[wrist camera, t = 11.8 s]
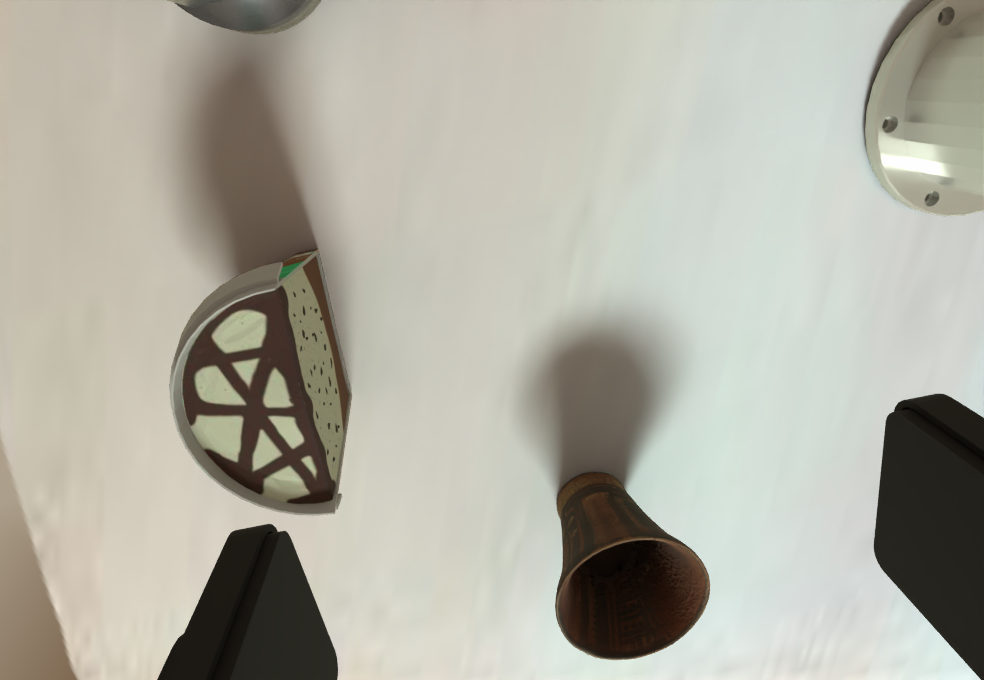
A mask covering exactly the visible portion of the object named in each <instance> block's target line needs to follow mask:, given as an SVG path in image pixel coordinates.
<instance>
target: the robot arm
mask: <svg viewBox="0 0 984 680" xmlns="http://www.w3.org/2000/svg"><path fill="white" fill-rule="evenodd" d="M865 136H866V146H867V154H868V157H869V160H870V163H871V166H872V169H873V172H874V174H875V175H876V177H877V179H878V180H879V182H880V184H881V185H882V187H883V188H884V189H885V190H886V191H887V192H888V193H889V194H890V195H891V196H892V197H893V198H894V199H895V200H897V201H899V202H900V203H902V204H904V205H906V206H907V207H909V208H912V209H915V210H919V211H922V212H925V213H929V214H935V215H941V216H961V215H968V214H972V213H976V212H980V211H984V0H933V1H931V2H930V3H929V4H928V5H927V6H926V7H925V8H924V9H923V10H922V11H921V12H919V13H918V14H917V15H916V16H915V17H914V18H913V19H912V20H911V21H910V23H909V24H908V25H907V26H906V28H905V29H904V30H903V31H902V33H901V34H900V35H899V36H898V38H897V39H896V40H895V42H894V44H893V45H892V47H891V49H890V50H889V52H888V54H887V55H886V57H885V59H884V60H883V62H882V64H881V67H880V69H879V72H878V74H877V76H876V79H875V81H874V84H873V86H872V90H871V94H870V98H869V103H868V107H867V113H866V126H865ZM874 552H875V556H876V559H877V561H878V563H879V565H880V567H881V568H882V570H883V571H884V572H885V573H886V574H887V576H888V577H889V578H890V579H891V580H892V581H893V582H894V583H895V584H896V586H897V587H898V588H899V589H900V590H901V591H902V592H903V593H904V594H905V596H906V597H907V598H908V599H909V600H910V601H911V602H912V603H913V604H914V606H915V607H916V608H917V609H918V610H919V611H920V612H921V613H922V614H923V616H924V617H925V618H926V619H927V620H928V621H929V622H930V623H931V625H932V626H933V627H934V628H935V629H936V630H937V631H938V632H939V633H940V635H941V636H942V637H943V638H944V639H945V640H946V641H947V642H948V643H949V645H950V646H951V647H952V648H953V649H954V650H955V651H956V652H957V653H958V655H959V656H960V657H961V658H962V659H963V660H964V661H965V662H966V663H967V665H968V666H969V667H970V668H971V669H972V670H973V671H974V672H975V673H976V675H977V676H978V677H979V678H980V679H981V680H984V418H983V417H981V416H980V415H978V414H977V413H975V412H973V411H972V410H970V409H969V408H967V407H966V406H964V405H962V404H961V403H959V402H958V401H956V400H954V399H953V398H951V397H949V396H947V395H945V394H933V395H928V396H923V397H918V398H913V399H908V400H903V401H901V402H899V403H898V404H897V405H896V407H895V410H894V412H892V413H890V414H889V415H888V417H887V419H886V426H885V436H884V446H883V456H882V466H881V477H880V487H879V497H878V507H877V518H876V528H875V538H874ZM337 676H338V664H337V656H336V653H335V649H334V647H333V644H332V642H331V639H330V637H329V634H328V632H327V629H326V627H325V624H324V622H323V619H322V616H321V614H320V611H319V609H318V606H317V604H316V601H315V599H314V596H313V594H312V591H311V589H310V586H309V583H308V581H307V578H306V576H305V573H304V571H303V568H302V566H301V563H300V561H299V558H298V555H297V553H296V550H295V548H294V545H293V543H292V540H291V538H290V536H289V534H288V533H287V532H286V531H281V532H278V531H277V529H276V528H275V527H274V526H273V525H272V524H266V525H261V526H256V527H251V528H246V529H240V530H235V531H233V532H232V533H231V534H230V535H229V537H228V538H227V540H226V543H225V545H224V547H223V549H222V551H221V554H220V556H219V558H218V560H217V562H216V565H215V567H214V569H213V571H212V573H211V576H210V578H209V580H208V582H207V584H206V587H205V589H204V591H203V593H202V595H201V598H200V600H199V602H198V604H197V606H196V609H195V611H194V613H193V615H192V617H191V620H190V622H189V624H188V626H187V628H186V631H185V633H184V634H183V635H182V636H180V637H179V638H178V639H177V641H176V643H175V644H174V646H173V647H172V649H171V651H170V654H169V656H168V658H167V660H166V662H165V664H164V666H163V669H162V671H161V673H160V675H159V677H158V679H157V680H337Z"/></svg>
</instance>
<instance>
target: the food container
mask: <svg viewBox="0 0 984 680" xmlns="http://www.w3.org/2000/svg"><path fill="white" fill-rule="evenodd" d="M169 387H170V400H171V407H172V412H173V416H174V420H175V423H176V427H177V430H178V433H179V435H180V437H181V439H182V441H183V443H184V445H185V447H186V449H187V450H188V452H189V453H190V455H191V456H192V458H193V459H194V461H195V462H196V463H197V464H198V465H199V466H200V467H201V469H202V470H203V471H204V472H205V473H206V474H207V475H208V476H209V477H210V478H211V479H213V480H214V481H215V482H216V483H218V484H219V485H220V486H221V487H223V488H224V489H226V490H227V491H229V492H231V493H232V494H234V495H236V496H237V497H239V498H241V499H243V500H245V501H248V502H250V503H252V504H255V505H257V506H259V507H263V508H266V509H270V510H273V511H277V512H282V513H288V514H295V515H328V514H335V510H337V509H338V506H339V503H340V500H341V497H342V495H341V494H338V490H339V483H340V476H341V469H342V462H343V455H344V448H345V441H346V434H347V427H348V420H349V413H350V406H351V399H352V394H351V390H350V386H349V381H348V377H347V373H346V368H345V364H344V360H343V355H342V351H341V346H340V342H339V338H338V333H337V329H336V325H335V320H334V316H333V312H332V307H331V303H330V298H329V294H328V290H327V285H326V281H325V277H324V272H323V268H322V263H321V259H320V255H319V250H318V249H315V250H310V251H306V252H301V253H297V254H295V255H294V256H292V257H290V258H288V259H286V260H285V261H283V262H278V263H274V264H269V265H265V266H260V267H258V268H255V269H253V270H250V271H248V272H245V273H242V274H240V275H238V276H236V277H235V278H233V279H231V280H230V281H228V282H226V283H225V284H223V285H221V286H220V287H219V288H218V289H216V290H215V291H214V292H213V293H212V294H210V295H209V296H208V297H207V298H206V299H205V300H204V301H203V302H202V303H201V305H200V306H199V307H198V308H197V309H196V311H195V312H194V313H193V314H192V316H191V317H190V319H189V321H188V323H187V325H186V327H185V329H184V330H183V332H182V335H181V338H180V341H179V344H178V347H177V351H176V354H175V357H174V360H173V363H172V367H171V376H170V384H169Z"/></svg>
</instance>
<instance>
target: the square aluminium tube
mask: <svg viewBox="0 0 984 680" xmlns="http://www.w3.org/2000/svg"><path fill="white" fill-rule="evenodd" d="M168 1H171V2H175V3H178V4H181V5H184V6H188V7H191V8H193V7H198V6H202V5H206V4H211V3H215V2H219V1H224V0H168Z"/></svg>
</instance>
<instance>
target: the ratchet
mask: <svg viewBox="0 0 984 680" xmlns="http://www.w3.org/2000/svg"><path fill="white" fill-rule="evenodd" d="M320 2H321V0H224V1H219V2H215V3H211V4H206V5H202V6H198V7H193V8H191V7H188V6H184V5H181V4H178V3H176V4H177V5H178V6H179V7H181V8H182V9H184V10H185V11H186V12H188V13H189V14H191V15H193V16H195V17H197V18H198V19H200V20H203V21H205V22H207V23H210V24H212V25H216V26H220V27H223V28H227V29H231V30H235V31H239V32H242V33H249V34H270V33H276V32H280V31H283V30H286V29H288V28H290V27H292V26H294V25H297V24H298V23H299V22H301V21H302V20H304V19H305V18H306V17H307V16H308V15H309V14H310V13H312V12H313V11H314V9H315V8H316V7H317V6H318V4H319V3H320ZM174 3H175V2H174Z"/></svg>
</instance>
